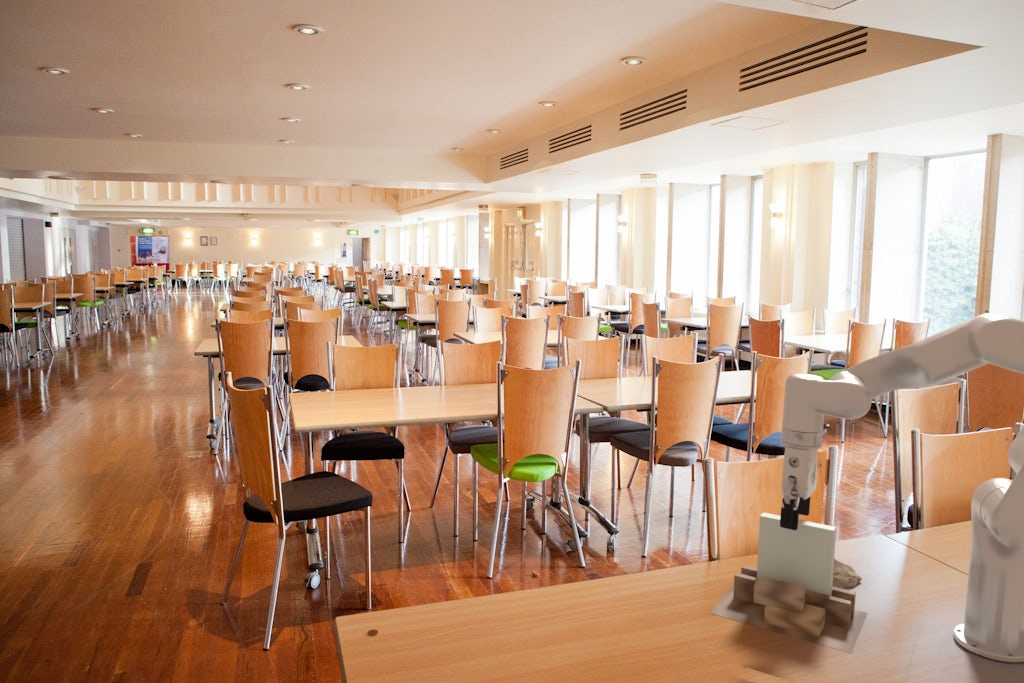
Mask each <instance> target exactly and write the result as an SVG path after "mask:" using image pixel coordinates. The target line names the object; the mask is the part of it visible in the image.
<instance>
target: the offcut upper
mask: <svg viewBox="0 0 1024 683" xmlns="http://www.w3.org/2000/svg"><path fill="white" fill-rule="evenodd" d="M805 592H806V586H805V585H799V584H794V583H789V582H783V581H778V580H773V579H768V578H762V577H757V579H756V582H755V585H754V601H753V603H758V604H763V605H768V606H772V607H777V608H782V609H787V610H792V611H797V612H802V613H803V610H804V605H805Z"/></svg>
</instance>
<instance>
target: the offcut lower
mask: <svg viewBox="0 0 1024 683" xmlns="http://www.w3.org/2000/svg"><path fill="white" fill-rule="evenodd" d="M825 610H826V609H824V608H820V607H816V606H812V605H808V604H805V605H804V610H803V613H802V612H797V611H792V610H787V609H782V608H777V607H772V606H768V605H765V616H764V622H766V623H769V624H773V625H776V626H780V627H783V628H787V629H791V630H794V631H798V632H801V633H805V634H809V635H812V636H816V637H819V636H820V634H821V632H822V630H823V628H824V625H825Z"/></svg>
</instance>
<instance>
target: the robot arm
mask: <svg viewBox="0 0 1024 683" xmlns="http://www.w3.org/2000/svg"><path fill="white" fill-rule="evenodd" d="M988 364H991V365H992V366H996V367H999V368H1002V369H1005V370H1009V371H1012V372H1015V373H1019V374H1023V375H1024V321H1023V320H1020V319H1017V318H1013V317H1010V316H1007V315H1004V314H1000V313H996V312H995V313H993V312H989V313H982V314H978V315H977V316H974V317H971V318H970V319H967V320H964V321H962V322H959V323H958V324H955V325H952V326H951V327H948V328H946V329H944V330H942V331H939V332H937V333H935V334H933V335H931V336H927V337H924V338H923V339H921V340H918V341H915V342H913V343H910V344H909V345H908V344H907V345H905V346H902V347H899V348H896V349H894V350H892V351H889V352H885V353H883V354H879V355H877V356H874V357H872V358H869V359H866V360H864V361H861V362H859V363H857V364H854V365H853V366H850V367H848V368H845V369H843V370H841V371H839V372H837V373H835V374H834V375H832V376H831V377H830V378H829V379H828V380H827V379H825V378H824V377H822V376H820V375H816V374H810V373H793V374H790V375H789V376H787V377H786V379H785V384H784V395H783V396H784V397H783V408H782V409H783V410H782V421H781V422H782V423H781V434H780V435H781V436H780V443H781V445H784V446H785V448H784V455H783V464H782V472H781V475H782V476H781V485H780V486H781V488H780V492H781V494H782V495H783V498H782V499H781V500H782V502H781V508H780V516H781V517H780V527H782V528H787V529H791V530H797V528H798V519H799V517H800V516H799V515H801V516H807V517H808V516H809V514H810V508H811V496H812V494H813V493H814V492H815V491H816V490H817V486H818V485H817V484H818V483H817V482H818V466H819V452H818V449H821V448H822V446H823V436H824V435H823V434H824V422H825V415H826V416H830V417H835V418H839V419H842V420H843V419H844V420H857V419H860V418H861V417H864V416H866V414H867V413H868V412H869V411H870V409H871V406H872V401H873V400H872V399H875V398H877V397H880V396H882V395H885V394H887V393H891V392H894V391H897V390H902V389H908V388H926V387H927V388H928V387H934V386H937V385H940V384H942V383H945V382H948V381H949V380H951V379H954V378H957V377H959V376H961V375H963V374H966V373H968V372H971V371H974V370H975V369H979V368H981V367H984V366H986V365H988ZM1007 461H1008V464H1009V466H1010V467H1011V468H1012V470H1013V471H1014V472H1015V473H1016V475H1015V476H1014V478H1013V479H1010V478H1006V477H994V478H990V479H987V480H985V481H983V482H982V483H981V484H979V486H978V487H977V488H976V489H975V491H974V492H973V496H972V498H971V507H970V508H971V509H970V510H971V512H970V514H971V540H970V541H971V543H970V544H971V545H970V554H969V555H970V556H969V565H968V575H967V576H968V578H967V586H966V598H965V607H964V620H963V623H960V624H958V625H956V626H955V627H954V628H953V634H952V635H953V638H954V639H955V641H956V642H957V643H958V644H959V645H960V646H961V647H963V648H964V649H966V650H967V651H969V652H971V653H972V654H975V655H978V656H980V655H981V657H983V658H986V659H990V660H994V661H998V662H1004V663H1024V424H1023V425H1022V427H1021V429H1020V430H1019V432H1018V433H1017V434H1016V436H1015V438H1014V439H1013V440H1012V442H1011V444H1010V445H1009V448H1008V451H1007Z"/></svg>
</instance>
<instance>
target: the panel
mask: <svg viewBox="0 0 1024 683" xmlns="http://www.w3.org/2000/svg"><path fill="white" fill-rule="evenodd" d="M780 517H781V515H779V514H772V513H768V512H762V513H761V514H760V516H759V524H758V525H759V527H758V528H759V529H758V530H759V531H758V547H757V548H758V549H757V563H756V564H757V565H756V566H757V567H756V568H757V577H762V578H768V579H773V580H778V581H783V582H789V583H794V584H799V585H805V586H806V590H808V591H812V592H816V593H820V594H824V595H828V596H832V584H833V568H834V559H835V553H836V551H835V549H836V537H837V534H836V533H837V526H833V525H829V524H828V525H827V524H825V523H823V524H822V523H818V522H817V523H816V522H814V521H813V522H812V521H808V520H803V519H799V518H798V528H797V530H791V529H787V528H782V527H780Z"/></svg>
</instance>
